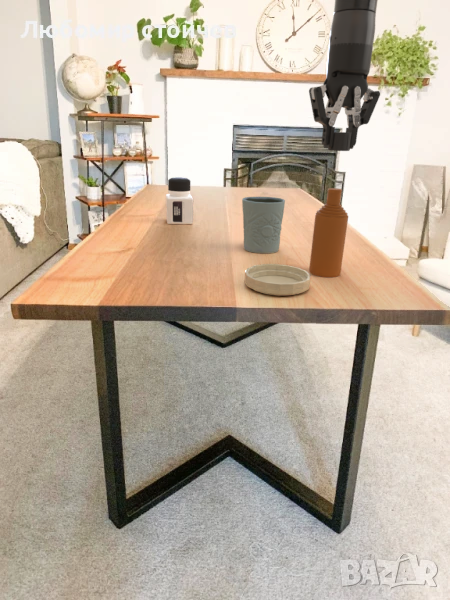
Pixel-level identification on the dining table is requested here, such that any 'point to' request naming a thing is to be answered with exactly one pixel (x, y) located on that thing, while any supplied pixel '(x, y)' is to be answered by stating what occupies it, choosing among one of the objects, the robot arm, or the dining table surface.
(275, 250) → the grey blue embossed cup
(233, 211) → the dining table surface
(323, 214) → the bottle
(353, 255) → the dining table surface
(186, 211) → the container
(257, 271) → the dish
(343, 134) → the cap
